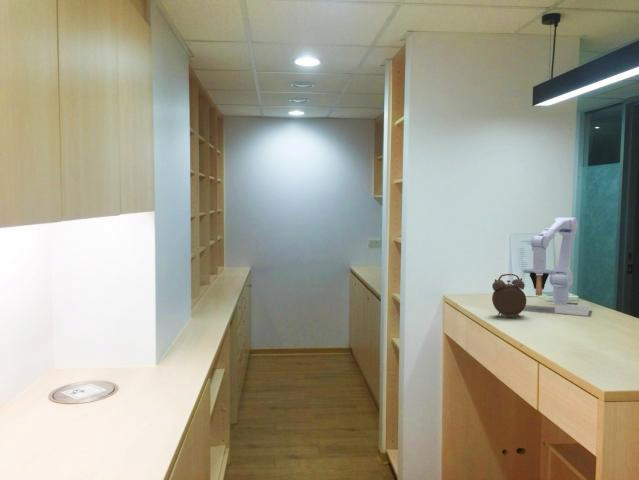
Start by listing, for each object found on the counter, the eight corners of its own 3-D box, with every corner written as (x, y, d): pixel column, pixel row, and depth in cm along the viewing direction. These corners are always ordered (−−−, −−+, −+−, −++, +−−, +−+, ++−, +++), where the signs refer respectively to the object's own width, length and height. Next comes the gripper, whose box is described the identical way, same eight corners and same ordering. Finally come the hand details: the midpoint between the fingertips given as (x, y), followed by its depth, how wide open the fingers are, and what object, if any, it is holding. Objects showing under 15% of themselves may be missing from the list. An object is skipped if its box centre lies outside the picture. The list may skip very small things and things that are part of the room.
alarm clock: (522, 315, 246) (522, 272, 244) (526, 318, 239) (527, 275, 237) (490, 315, 247) (490, 272, 245) (493, 318, 240) (494, 275, 238)
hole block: (557, 308, 257) (557, 300, 257) (589, 310, 250) (590, 302, 250) (554, 313, 247) (554, 304, 246) (588, 316, 240) (588, 307, 239)
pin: (536, 294, 257) (536, 274, 256) (542, 294, 256) (543, 275, 255) (535, 295, 255) (535, 275, 254) (541, 295, 253) (542, 276, 252)
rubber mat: (525, 305, 266) (525, 304, 265) (592, 311, 250) (592, 310, 250) (520, 311, 253) (520, 310, 253) (590, 317, 238) (590, 316, 238)
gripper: (522, 261, 254) (521, 288, 255) (554, 262, 247) (554, 291, 248) (524, 259, 260) (524, 286, 261) (556, 260, 253) (556, 288, 254)
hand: (539, 288), depth 255 cm, fingers closed on pin, 3 cm apart
